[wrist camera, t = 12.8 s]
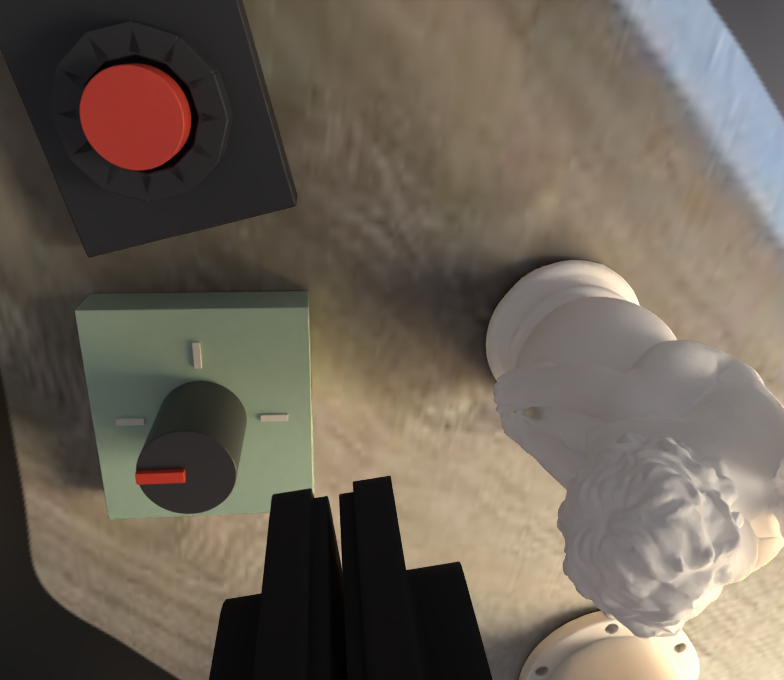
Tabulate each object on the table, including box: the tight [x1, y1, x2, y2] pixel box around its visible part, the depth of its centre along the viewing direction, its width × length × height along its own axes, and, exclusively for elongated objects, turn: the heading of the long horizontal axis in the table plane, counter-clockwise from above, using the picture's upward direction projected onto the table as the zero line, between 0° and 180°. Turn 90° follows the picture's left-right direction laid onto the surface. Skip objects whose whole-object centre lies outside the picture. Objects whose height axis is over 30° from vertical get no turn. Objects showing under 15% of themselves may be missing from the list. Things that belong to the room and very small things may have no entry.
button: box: [79, 63, 191, 171], centre depth 29 cm, size 4×4×2 cm
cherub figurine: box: [486, 259, 784, 638], centre depth 29 cm, size 12×12×22 cm
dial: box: [135, 381, 247, 514], centre depth 34 cm, size 4×4×5 cm
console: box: [75, 291, 314, 519], centre depth 37 cm, size 12×11×3 cm
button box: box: [0, 0, 297, 257], centre depth 31 cm, size 11×10×4 cm
